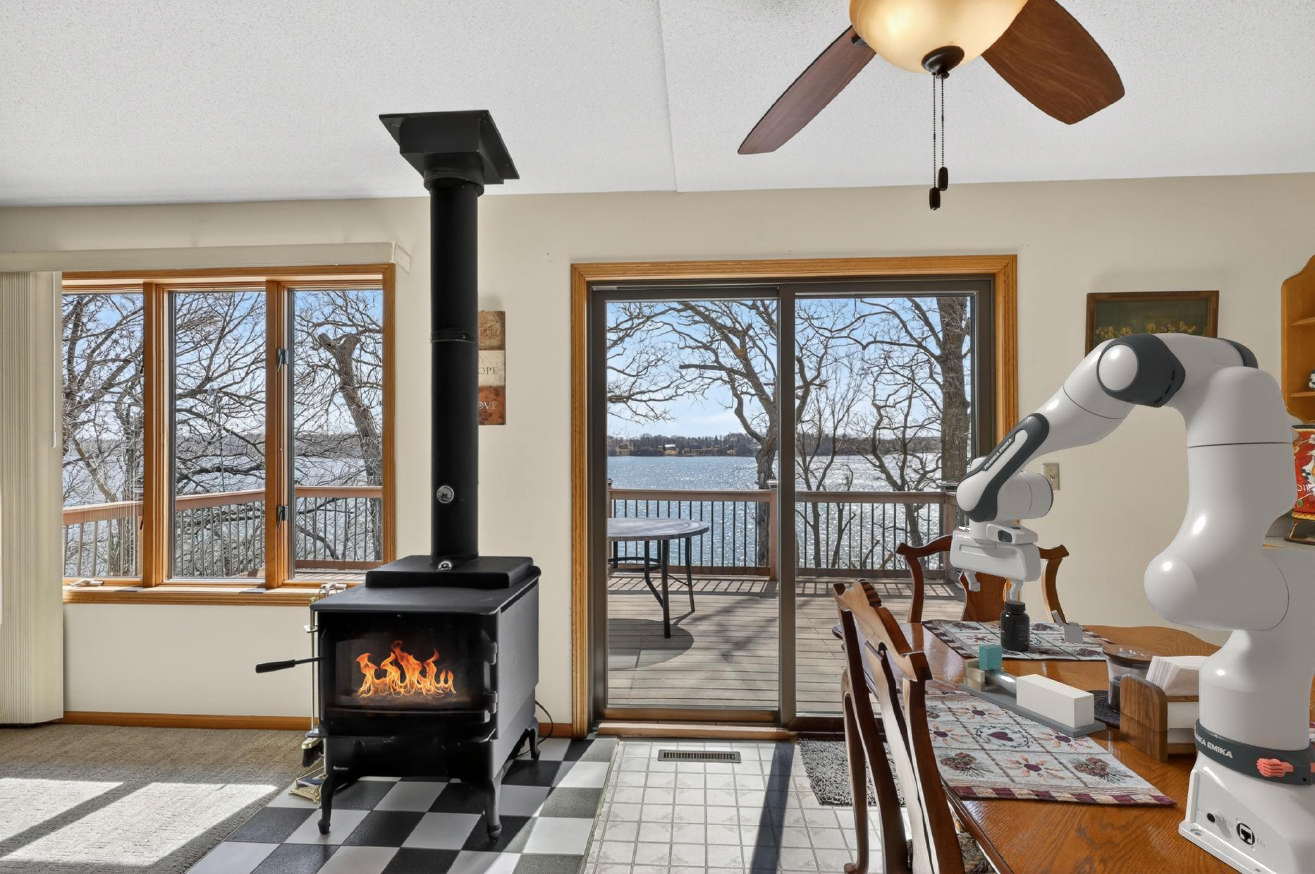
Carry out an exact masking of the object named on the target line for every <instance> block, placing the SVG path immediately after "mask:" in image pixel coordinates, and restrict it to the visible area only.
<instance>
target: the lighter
mask: <svg viewBox="0 0 1315 874" xmlns="http://www.w3.org/2000/svg"><path fill="white" fill-rule="evenodd" d="M1050 612H1051V615H1052V616H1053V618H1054V620H1055V622H1056V624H1057V625H1058V628H1061V627H1063V641H1064V643H1065V642H1066V643H1073V644H1081V643H1084V642H1083V641H1084V640H1083V639H1084V638H1083V626H1082V625H1080V623H1078V622H1076V621H1068V624H1065V623H1064V621H1063V620H1062V618H1061V617H1060V615H1059V612H1058V611H1057V610H1056V609H1054V610H1052V611H1050Z"/></svg>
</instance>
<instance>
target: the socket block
mask: <svg viewBox="0 0 1315 874" xmlns="http://www.w3.org/2000/svg"><path fill="white" fill-rule="evenodd" d="M962 662H963V663H962V664H963V665H962V667H963V668H962V669H963V670H962V672H963V673H962V675H963V677H962V678H963V682H962V683H963V684H964V685H967V686H969V687H971V688H974V689H976V690H979V691H985V690H990V689H995V688H999V687H997V686H994V685H991V684H989V683H986V682H985V672H984V671H982V670H979V669H977V667H978V666H979V657H975V658H968V659H963V660H962ZM997 670H1000V671H1003V672H1005V667H1003V666H1002V668H998V669H997Z"/></svg>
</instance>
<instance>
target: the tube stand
mask: <svg viewBox="0 0 1315 874" xmlns="http://www.w3.org/2000/svg"><path fill="white" fill-rule="evenodd" d="M1016 680H1017V694H1014V693H1012V692H1009V691H1007V690H1004V689H1002V688H995V689H990V690H985V691H979V690H976V689H974V688H971V687H969V686H967V685H964V684H963V682H961V683H958V684H957V687H958V688H957V689H958V690H960V691H963V692H965V693H968V694H970V695H972V696H975V697H977V698H980V699H982V700H984V701H986V702H988V703H991V704H992V705H996V706H998V707H1000V708H1003V709H1005V710H1006V711H1009V712H1012V713H1015V714H1017V715H1019V716H1021V717H1024V718H1026V719H1029V720H1030V721H1033V722H1035V723H1038V724H1040V725H1043V726H1045V727H1047V728H1050V729H1052V730H1055V731H1057V732H1059V733H1061V734H1064V735H1066V736H1069V737H1071V738H1077V737H1081V736H1085V735H1088V734H1092V733H1093V734H1094V733H1097V732H1101V731H1105V730H1107V724H1106V723H1105V722H1102V721H1099V720H1096V719H1095V694H1094V693H1091V692H1088V691H1084V690H1082V689H1079V688H1078V687H1077V688H1076V687H1073V686H1072V685H1068V684H1065V683H1062V682H1059V681H1057V680H1054V679H1051V678H1048V677H1045V676H1043V675H1039V674H1037V673H1033V674H1028V675H1022V676H1017V677H1016Z"/></svg>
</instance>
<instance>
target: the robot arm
mask: <svg viewBox="0 0 1315 874" xmlns="http://www.w3.org/2000/svg"><path fill="white" fill-rule="evenodd" d="M1137 405H1138V406H1144V407H1150V408H1153V409H1154V408H1155V409H1159V408H1162V407H1164V406H1165V407H1169V408H1173V409H1175V410H1177V411H1178V412H1179V413H1180V415H1181V416H1182V418H1183V420H1184V424H1185V425H1184V427H1185V436H1186V439H1185V440H1186V448H1187V449H1186V453H1187V454H1186V455H1187V472H1188V473H1187V475H1188V500H1187V508H1186V511H1185V515H1184V518H1183V521H1182V524H1181V526H1180V528H1179V530H1178V532H1177V534H1176V535H1175V537H1174V538H1173V540H1172V541H1171V542H1170V544H1169V545H1168V546H1167V547H1166V548H1165V549H1163V551H1161V552H1160V553H1159V554H1158V555H1156V556H1154V557H1153V558H1152V560H1150V562H1149V563H1148V565H1147V567H1146V569H1145V572H1144V574H1143V589H1144V594H1145V596H1146V599H1147V601H1148V603H1149V604H1150V606H1151V608H1152V609H1153V611H1155V612H1156V613H1157V615H1158V616H1160V617H1161V618H1162V619H1164V620H1165V621H1167V622H1169V623H1171V624H1175V625H1179V626H1180V625H1181V626H1184V627H1188V628H1194V629H1199V630H1205V631H1232V632H1231V635H1230V636H1229V638H1228V639H1227V641H1226V642H1225V644H1224V645H1222V647H1221V648H1220V649H1219V650H1217V651H1216V652H1214V653H1212V654H1210V655H1209V656H1207V658H1205V659H1204V660H1203V662H1202V663H1201V665H1200V667H1199V671H1198V706H1199V708H1198V710H1199V714H1198V716H1199V717H1198V718H1197V719H1196V720H1195V728H1194V737H1195V738H1194V740H1195V743H1194V744H1195V747H1196V749H1197V750H1198V754H1197V757H1196V761H1195V763H1194V766H1193V768H1192V770H1191V771H1190V777H1189V785H1188V793H1187V803H1186V809H1185V810H1186V812H1185V818H1184V819H1183V820H1182V821H1180V822H1179V825H1178V833H1179V835H1181V836H1182V837H1184V838H1185V839H1187V840H1188V841H1191V842H1192V843H1193V844H1195V845H1197V846H1198V847H1199V848H1202V850H1205V851H1206V852H1208V853H1209V854H1211V855H1212V856H1214V857H1215V858H1217V859H1219V860H1221V861H1222V862H1223V863H1225V864H1226V865H1228V866H1230V867H1232V868H1233V869H1235V870H1236V871H1238V872H1239V873H1240V874H1315V746H1314V744H1313V743H1312V742H1311V741H1310V713H1311V712H1310V707H1311V706H1310V705H1311V691H1312V685H1313V680H1314V677H1315V551H1314V550H1310V549H1304V548H1297V547H1264V542H1265V539H1266V536H1267V533H1268V531H1269V529H1270V528H1271V526H1272V524H1273V523H1274V522H1275V521H1276V520H1277V519H1278V518H1279V517H1282V516H1284V515H1285V514H1287V513H1289V511H1291V510H1292V509H1293V508H1294V506H1295V504H1296V503H1297V502H1298V501H1297V500H1298V498H1299V497H1298V494H1299V493H1298V485H1297V473H1296V464H1295V463H1296V462H1295V453H1294V444H1293V443H1294V442H1293V435H1292V429H1291V422H1290V418H1289V414H1288V409H1287V407H1286V402H1285V400H1284V397H1283V394H1282V391H1281V388H1280V386H1279V383H1278V381H1277V379H1276V378H1275V377H1274V376H1273V375H1272V374H1270V373H1269V372H1267V371H1265V370H1263V369H1259V363H1258V360H1257V357H1256V355H1255V354H1254V352H1253V351H1252V350H1251V349H1250V348H1249V347H1247V346H1246V345H1243V343H1240V342H1238V341H1235V340H1231V339H1228V338H1224V337H1207V336H1201V335H1194V334H1193V335H1191V334H1188V333H1182V332H1181V333H1179V332H1176V333H1175V332H1174V333H1173V332H1169V333H1168V332H1166V333H1164V332H1163V333H1148V332H1139V333H1132V334H1128V335H1124V336H1120V337H1117V338H1111V339H1107V340H1104V341H1103V342H1101V343H1100V344H1097V346H1096V347H1095V348H1093V349H1092V350H1091V351H1090V352H1089V353H1088V354H1087V355H1086V356H1085V357H1084V358H1083V359H1082V360H1081V361H1080V362H1079V363H1078V364H1077V366H1075V368H1074V369H1073V370H1072V372H1071V373H1070V374H1069V376H1068V377H1067V378H1066V379H1065V380H1064V382H1063V384H1062V385H1061V386H1060V388H1059V389H1058V390H1057V391H1056V392H1055V393H1054V394H1053V395H1052V396H1051V397H1050V398H1049V399H1048V400H1047V401H1045V403H1043V405H1041V406H1040V407H1039V408H1037V409H1036V410H1035V411H1033V412H1031V413H1030V414H1029V415H1027V416H1026V417H1024V418H1023V419H1021V420H1020V421H1019V422H1017V424H1016V425H1015V426H1014V427H1013V428H1012V429H1011V430H1010V431H1009V432H1008V433H1007V434H1006V435H1005V436H1004V437H1003V439H1002V440H1001V441H1000V442H999V443H998V444H997V445H996V446H995V447H994V448H993V450H992V451H991V452H990V453H989V454H988V455H982V456H981V455H980V456H978V457H975V459H973V460H972V462H971V465H970V470H969V471H968V472H966V473H965V474H964V475H963V477H962V478H961V479H960V481H959V482H958V484H957V487H956V490H955V502H956V504H957V506H958V508H959V510H960V512H961V513H962V514H964V516H966V517H967V518H968V525H969V526H968V527H966V526H958V527H956V528H955V529H954V530H953V531H952V539H951V545H950V552H949V553H950V554H949V562H950V564H951V566H952V567H954V568H957V569H963V574H964V577H965V578H966V580H967V582H968V590H969V591H971V592H980V591H981V583H980V582H978V581H977V578H976V574H977V573H981V574H985V575H993V576H996V577H1001V578H1006V579H1009V584H1011V587H1010V589H1009V590H1006V591H1005V595H1006V596H1005V598H1006V600H1012V601H1019V591H1020V590H1021V589H1022V588H1023V585H1024V582H1026V583H1027V582H1028V583H1029V582H1036V581H1038V580H1039V579H1040V577H1041V575H1042V565H1041V563H1042V562H1041V554H1040V550H1039V549H1040V548H1038V546H1037V545H1036V544H1037V543H1038V542H1039V534H1038V533H1037V532H1035V531H1034V530H1032V529H1029V528H1028V527H1026V526H1024V525H1022V524H1019V523H1017V522H1016V521H1018V520H1036V519H1038V518H1043V517H1045V516H1047V514H1048V513H1049V512H1050V511H1051V509H1052V507H1053V503H1054V499H1055V498H1054V495H1055V494H1054V489H1053V486H1052V484H1051V483H1050V481H1049V479H1047V477H1046V476H1044V475H1043V474H1041V473H1038V472H1034V471H1032V470H1031V471H1030V470H1028V469H1027V468H1026V467H1027V465H1029V464H1030V463H1031V462H1033V461H1034V460H1036V459H1038V458H1040V457H1041V456H1045V455H1047V454H1048V455H1049V454H1050V453H1054V452H1058V451H1063V450H1067V449H1068V450H1069V449H1072V448H1073V449H1074V448H1077V447H1083V446H1088V445H1089V446H1090V445H1092V444H1093V445H1094V444H1095V443H1098V442H1100V441H1102V440H1104V439H1105V438H1106V437H1108V436H1109V435H1110V434H1112V433H1113V432H1115V431H1116V430H1117V428H1119V426H1121V424H1122V423H1123V422H1124V421H1125V419H1126V418H1127V417H1128V416H1129V414H1131V412H1132V411H1133V410H1134V408H1135V407H1136V406H1137Z"/></svg>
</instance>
